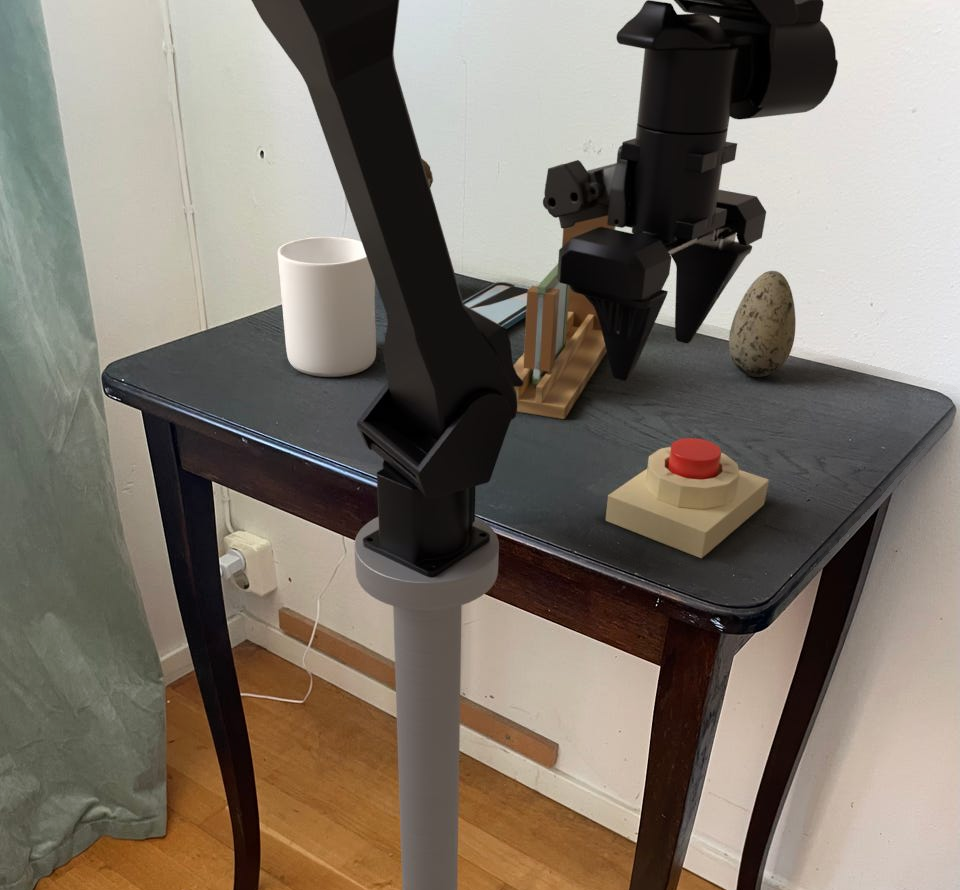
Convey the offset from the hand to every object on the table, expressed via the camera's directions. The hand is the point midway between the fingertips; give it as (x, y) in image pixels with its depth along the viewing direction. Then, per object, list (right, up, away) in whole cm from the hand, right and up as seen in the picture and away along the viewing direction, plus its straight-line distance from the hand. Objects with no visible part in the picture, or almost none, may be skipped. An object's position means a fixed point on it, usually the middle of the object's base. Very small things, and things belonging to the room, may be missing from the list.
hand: (653, 359), depth 74 cm
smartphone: (-11, +13, +37) cm, 41 cm away
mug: (-26, +6, +27) cm, 38 cm away
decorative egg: (+14, +4, +25) cm, 29 cm away
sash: (-6, +4, +22) cm, 23 cm away
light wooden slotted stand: (-5, +5, +25) cm, 26 cm away
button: (+3, -8, +1) cm, 8 cm away
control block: (+3, -11, +3) cm, 12 cm away
